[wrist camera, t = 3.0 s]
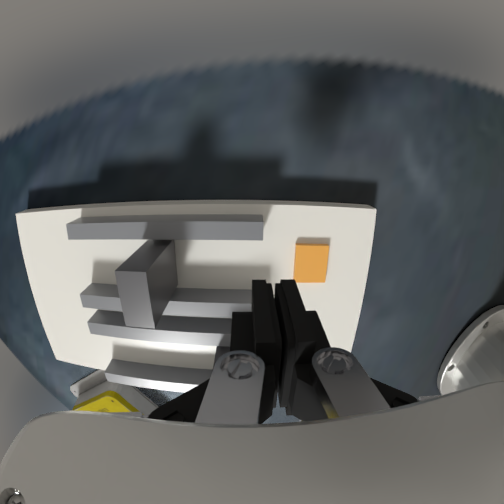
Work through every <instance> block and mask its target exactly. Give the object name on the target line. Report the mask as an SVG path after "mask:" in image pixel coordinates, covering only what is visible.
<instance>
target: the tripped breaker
mask: <svg viewBox="0 0 504 504" xmlns="http://www.w3.org/2000/svg"><path fill="white" fill-rule="evenodd" d="M115 276H116V281H117V287H118V292H119V297H120V302H121V306H122V311H123V316H124V320H125V324H126V326H131V327H141V328H153V329H155V328H156V326H157V324H158V322H159V320H160V318H161V316H162V314H163V312H164V310H165V308H166V306H167V304H168V303H169V301H170V299H171V297H172V295H173V293H174V291H175V289H176V287H177V285H178V277H177V267H176V255H175V242H174V240H147V241H146V242H145V243H144V244H143V245H142V246H141V247H140V248H138V249H137V250H136V251H135V252H134V253H133V254H132V255H131V256H130V257H129V258H128V259H127V260H126V261H124V262H123V263H122V264H121V265H120V266H119V267H118V268H117V269H116V270H115Z"/></svg>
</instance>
